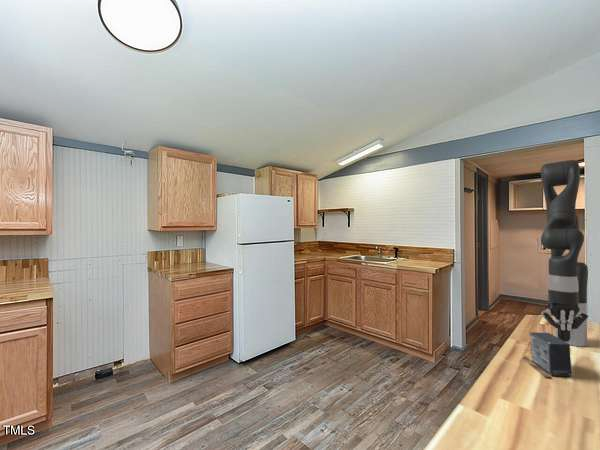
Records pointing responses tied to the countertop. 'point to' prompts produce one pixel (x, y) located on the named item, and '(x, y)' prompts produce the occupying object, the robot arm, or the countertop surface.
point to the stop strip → (537, 368)
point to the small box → (551, 354)
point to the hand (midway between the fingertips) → (563, 340)
